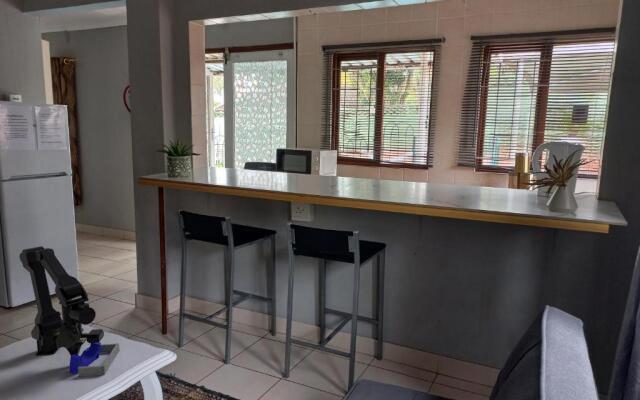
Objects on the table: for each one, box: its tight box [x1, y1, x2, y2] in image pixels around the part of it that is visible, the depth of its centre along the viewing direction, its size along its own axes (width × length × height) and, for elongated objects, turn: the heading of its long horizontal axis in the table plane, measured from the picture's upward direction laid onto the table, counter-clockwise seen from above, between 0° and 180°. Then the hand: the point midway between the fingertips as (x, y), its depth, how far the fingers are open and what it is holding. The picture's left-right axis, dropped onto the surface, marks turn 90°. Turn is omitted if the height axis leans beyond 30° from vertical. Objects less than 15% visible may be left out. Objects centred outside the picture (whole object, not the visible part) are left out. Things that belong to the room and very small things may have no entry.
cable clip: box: [68, 341, 102, 375], centre depth 160 cm, size 12×4×6 cm, turn 171°
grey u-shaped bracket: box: [78, 342, 121, 378], centre depth 162 cm, size 8×18×3 cm, turn 8°
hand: (75, 360), depth 161 cm, fingers closed
